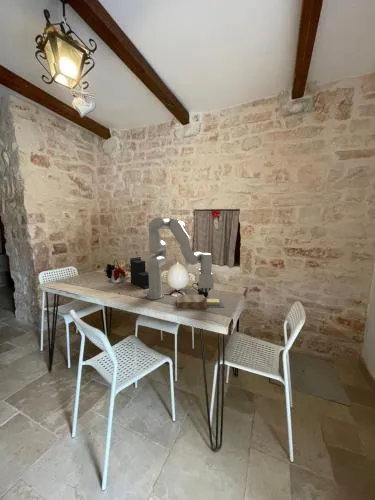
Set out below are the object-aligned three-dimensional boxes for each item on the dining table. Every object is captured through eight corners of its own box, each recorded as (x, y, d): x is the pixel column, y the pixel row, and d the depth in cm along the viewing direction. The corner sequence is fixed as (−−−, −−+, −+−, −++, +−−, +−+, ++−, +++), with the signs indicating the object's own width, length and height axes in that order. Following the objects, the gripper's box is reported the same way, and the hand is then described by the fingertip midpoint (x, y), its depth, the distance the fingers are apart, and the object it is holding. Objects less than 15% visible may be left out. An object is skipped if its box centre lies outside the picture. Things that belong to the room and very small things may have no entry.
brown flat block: (177, 307, 145) (177, 302, 144) (177, 300, 158) (177, 294, 158) (207, 307, 145) (207, 301, 144) (205, 299, 159) (205, 294, 158)
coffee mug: (209, 293, 172) (210, 281, 171) (204, 296, 165) (204, 284, 164) (197, 291, 178) (197, 279, 177) (191, 294, 171) (191, 281, 170)
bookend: (155, 286, 190) (154, 260, 187) (144, 289, 183) (144, 261, 179) (140, 281, 207) (140, 256, 203) (130, 283, 199) (129, 258, 196)
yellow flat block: (206, 304, 149) (206, 302, 149) (205, 301, 155) (205, 298, 155) (219, 304, 149) (219, 302, 149) (218, 301, 155) (218, 298, 155)
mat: (207, 307, 145) (207, 307, 145) (205, 299, 159) (205, 299, 159) (224, 307, 145) (224, 307, 145) (220, 299, 159) (220, 299, 159)
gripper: (195, 272, 145) (195, 299, 147) (217, 272, 145) (217, 298, 148) (194, 270, 152) (194, 295, 155) (216, 269, 152) (215, 295, 155)
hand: (205, 297), depth 151 cm, fingers closed
